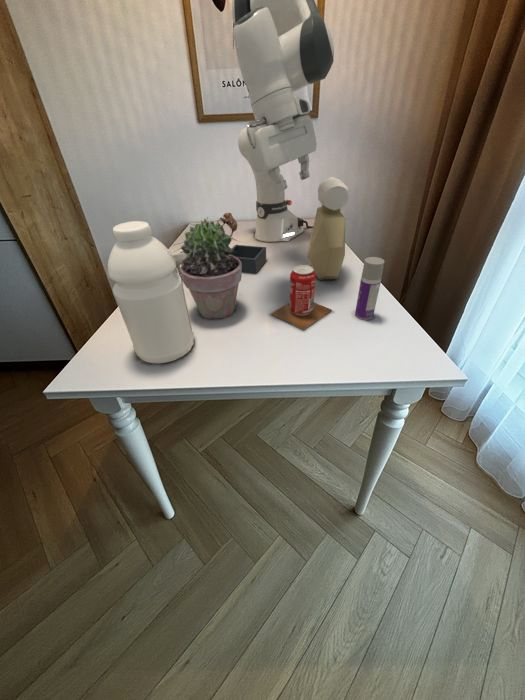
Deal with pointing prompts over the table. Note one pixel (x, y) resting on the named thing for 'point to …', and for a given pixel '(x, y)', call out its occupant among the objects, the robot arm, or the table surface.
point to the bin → (250, 257)
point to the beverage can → (302, 290)
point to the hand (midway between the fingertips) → (294, 184)
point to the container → (369, 287)
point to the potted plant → (211, 267)
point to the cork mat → (301, 321)
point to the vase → (329, 230)
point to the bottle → (149, 294)
